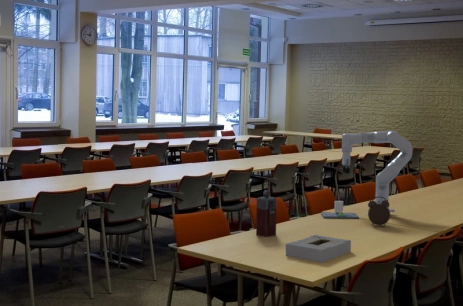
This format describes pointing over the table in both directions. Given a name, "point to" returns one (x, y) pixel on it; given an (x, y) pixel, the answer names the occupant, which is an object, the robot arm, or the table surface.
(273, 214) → the maroon square bottle
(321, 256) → the box
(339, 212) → the peg
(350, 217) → the plate
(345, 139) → the robot arm
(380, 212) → the alarm clock
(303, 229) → the table surface
